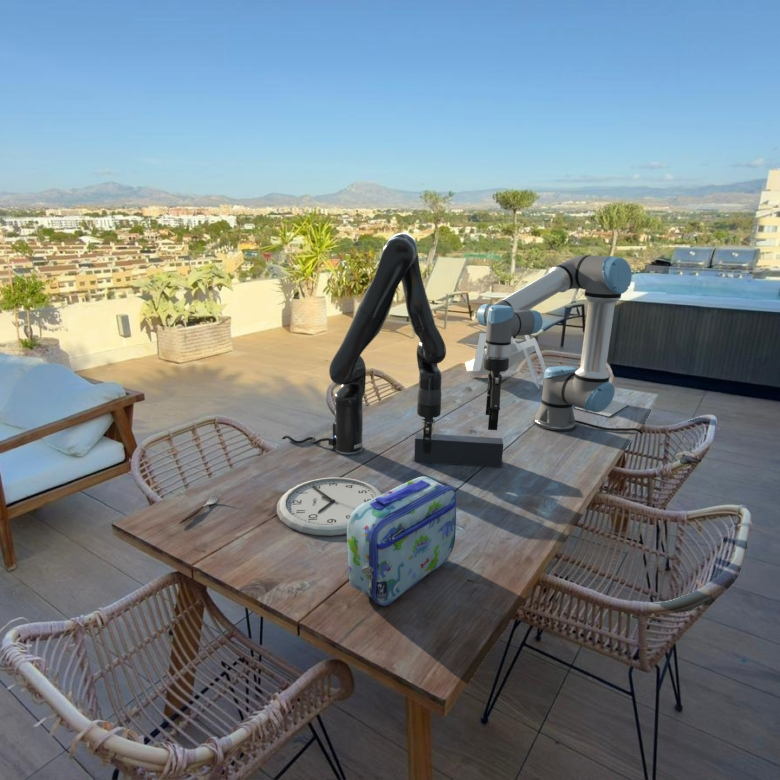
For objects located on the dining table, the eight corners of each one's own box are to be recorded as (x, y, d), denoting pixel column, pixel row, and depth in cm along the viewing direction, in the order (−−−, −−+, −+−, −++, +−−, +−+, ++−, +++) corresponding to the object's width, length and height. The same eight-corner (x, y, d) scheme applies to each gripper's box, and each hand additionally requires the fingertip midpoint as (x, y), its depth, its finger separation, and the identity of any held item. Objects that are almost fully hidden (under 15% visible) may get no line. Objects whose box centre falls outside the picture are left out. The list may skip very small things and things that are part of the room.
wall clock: (392, 527, 129) (268, 531, 127) (391, 533, 130) (269, 537, 127) (383, 473, 158) (282, 475, 155) (383, 478, 158) (282, 480, 156)
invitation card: (608, 416, 214) (573, 407, 224) (608, 416, 214) (573, 408, 224) (628, 404, 229) (594, 396, 238) (628, 405, 229) (594, 397, 238)
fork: (175, 524, 132) (174, 517, 132) (215, 495, 146) (215, 489, 146) (183, 526, 131) (182, 519, 131) (223, 497, 146) (222, 490, 145)
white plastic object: (486, 418, 267) (465, 395, 242) (467, 346, 289) (447, 318, 264) (556, 394, 255) (543, 367, 230) (531, 321, 277) (516, 289, 252)
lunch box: (376, 619, 101) (377, 524, 95) (340, 592, 109) (339, 502, 102) (459, 562, 119) (465, 479, 113) (424, 542, 126) (427, 463, 120)
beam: (500, 460, 172) (502, 438, 170) (501, 467, 167) (503, 444, 165) (415, 455, 175) (416, 432, 173) (414, 461, 171) (415, 438, 168)
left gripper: (419, 393, 174) (417, 440, 179) (415, 407, 160) (414, 458, 165) (441, 394, 173) (439, 442, 178) (440, 408, 159) (438, 459, 164)
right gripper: (482, 347, 172) (477, 408, 178) (486, 366, 148) (480, 435, 154) (505, 348, 171) (499, 409, 177) (513, 367, 147) (506, 437, 154)
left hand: (427, 449), depth 171 cm, fingers closed on beam, 5 cm apart
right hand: (491, 422), depth 166 cm, fingers open, 13 cm apart
